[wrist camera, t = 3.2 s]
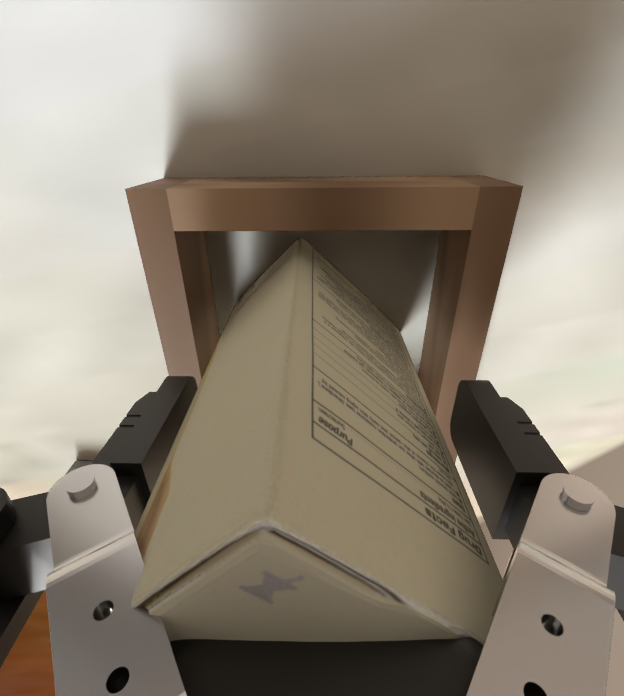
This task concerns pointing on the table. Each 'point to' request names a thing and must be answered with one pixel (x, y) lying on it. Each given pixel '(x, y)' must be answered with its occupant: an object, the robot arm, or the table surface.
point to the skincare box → (312, 483)
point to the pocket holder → (330, 215)
